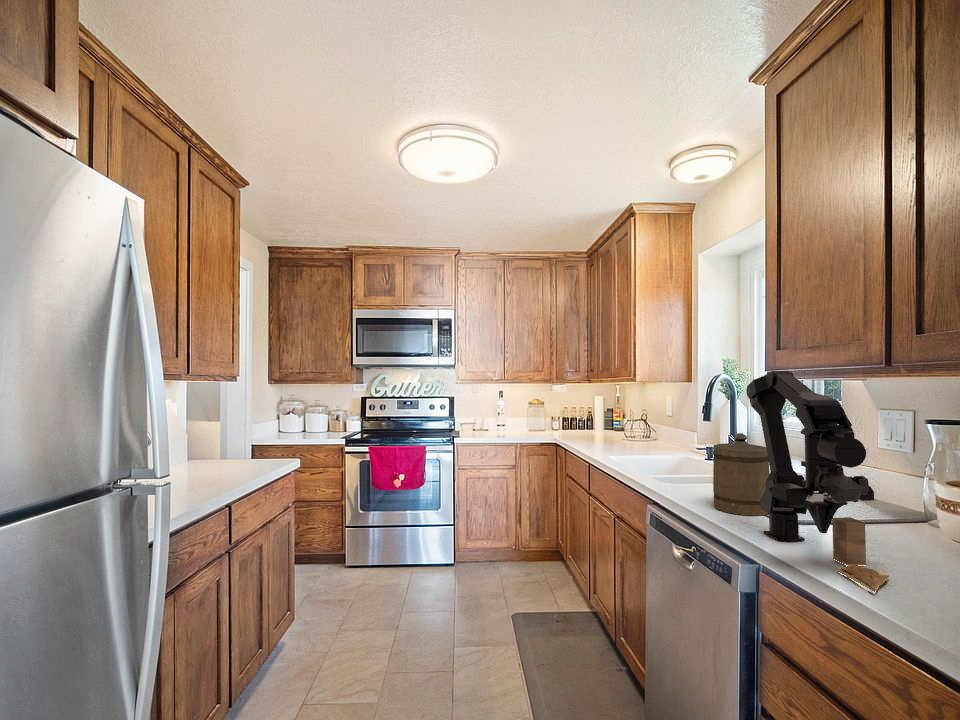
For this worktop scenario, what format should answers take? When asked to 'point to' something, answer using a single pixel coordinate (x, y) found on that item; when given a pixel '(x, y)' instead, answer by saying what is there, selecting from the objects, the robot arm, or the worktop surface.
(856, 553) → the walnut block
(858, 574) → the shard
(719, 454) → the wooden container
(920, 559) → the worktop surface
